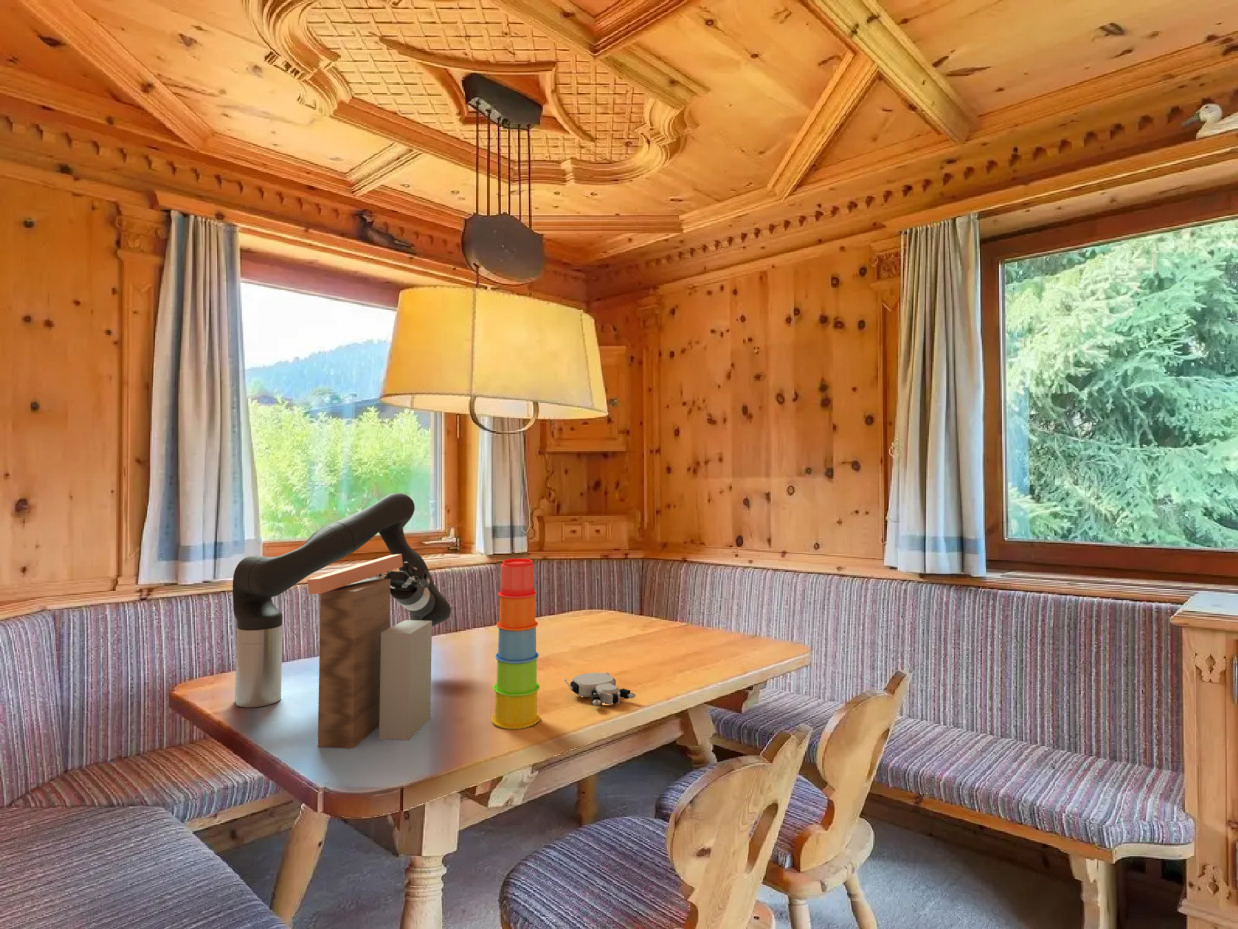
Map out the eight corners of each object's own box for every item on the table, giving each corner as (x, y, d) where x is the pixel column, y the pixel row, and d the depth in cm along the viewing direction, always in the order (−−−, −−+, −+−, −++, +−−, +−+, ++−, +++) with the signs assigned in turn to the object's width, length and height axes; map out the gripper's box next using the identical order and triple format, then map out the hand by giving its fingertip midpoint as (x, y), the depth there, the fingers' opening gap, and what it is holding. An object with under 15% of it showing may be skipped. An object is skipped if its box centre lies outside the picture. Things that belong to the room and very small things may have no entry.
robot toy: (638, 708, 156) (605, 686, 169) (639, 688, 156) (606, 668, 169) (593, 717, 150) (561, 693, 162) (594, 697, 150) (562, 675, 162)
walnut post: (317, 746, 130) (320, 590, 130) (356, 717, 145) (359, 578, 146) (352, 748, 129) (355, 591, 130) (388, 718, 145) (390, 578, 145)
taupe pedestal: (379, 739, 134) (381, 632, 134) (403, 717, 146) (405, 620, 146) (408, 740, 133) (410, 633, 134) (430, 718, 145) (431, 620, 146)
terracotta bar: (309, 594, 127) (307, 579, 127) (392, 567, 152) (391, 554, 152) (321, 593, 126) (319, 578, 126) (403, 566, 151) (401, 554, 151)
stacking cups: (549, 719, 146) (551, 558, 146) (517, 733, 137) (519, 563, 138) (514, 709, 152) (516, 555, 152) (481, 722, 143) (483, 559, 144)
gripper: (385, 575, 168) (360, 549, 154) (441, 577, 167) (420, 550, 153) (378, 604, 164) (351, 580, 150) (435, 606, 163) (413, 581, 149)
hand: (386, 565), depth 152 cm, fingers open, 8 cm apart
